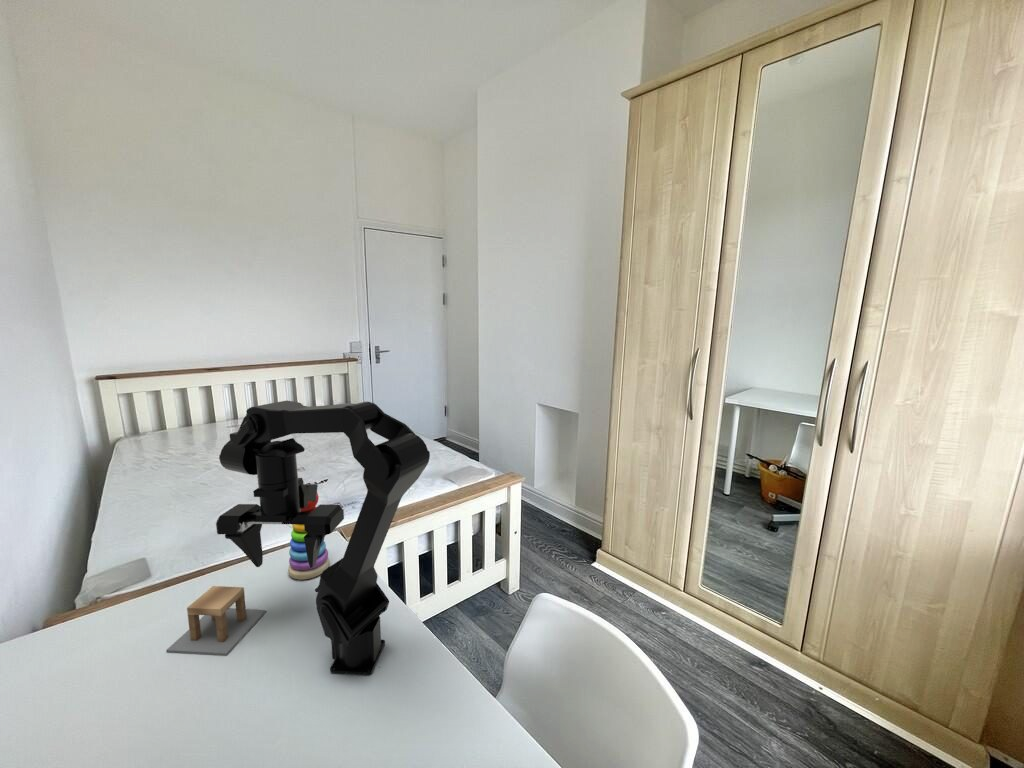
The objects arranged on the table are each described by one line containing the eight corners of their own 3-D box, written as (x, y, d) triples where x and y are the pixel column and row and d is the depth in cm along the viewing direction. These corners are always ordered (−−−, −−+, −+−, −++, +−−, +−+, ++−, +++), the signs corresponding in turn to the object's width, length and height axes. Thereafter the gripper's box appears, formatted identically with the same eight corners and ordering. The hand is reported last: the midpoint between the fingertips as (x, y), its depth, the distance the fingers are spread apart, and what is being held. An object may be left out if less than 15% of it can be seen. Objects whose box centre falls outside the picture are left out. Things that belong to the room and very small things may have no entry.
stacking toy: (280, 574, 87) (273, 489, 84) (313, 555, 94) (308, 476, 91) (304, 586, 83) (298, 498, 80) (337, 565, 90) (333, 484, 87)
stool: (246, 618, 74) (243, 587, 73) (223, 642, 68) (220, 609, 67) (216, 616, 74) (212, 585, 73) (190, 640, 68) (186, 607, 67)
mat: (266, 611, 76) (266, 609, 76) (226, 655, 66) (226, 653, 66) (213, 609, 76) (213, 607, 76) (166, 652, 66) (166, 650, 66)
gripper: (354, 462, 76) (359, 541, 78) (253, 461, 76) (261, 540, 79) (325, 485, 65) (332, 577, 67) (208, 485, 65) (219, 576, 68)
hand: (286, 566), depth 70 cm, fingers open, 9 cm apart
